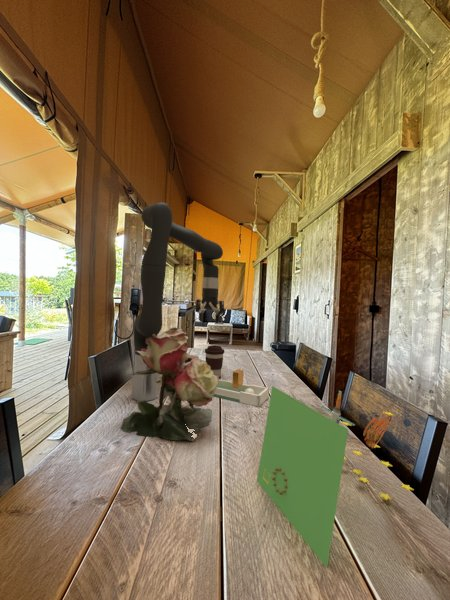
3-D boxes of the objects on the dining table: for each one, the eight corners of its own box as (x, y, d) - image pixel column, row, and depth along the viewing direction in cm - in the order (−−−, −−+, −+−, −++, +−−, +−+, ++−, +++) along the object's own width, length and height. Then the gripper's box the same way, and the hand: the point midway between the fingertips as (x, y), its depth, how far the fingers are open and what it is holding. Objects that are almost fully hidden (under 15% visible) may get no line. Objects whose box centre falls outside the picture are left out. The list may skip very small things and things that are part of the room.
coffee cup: (223, 379, 138) (224, 348, 138) (202, 378, 138) (204, 347, 138) (223, 373, 148) (224, 345, 148) (204, 372, 148) (205, 344, 148)
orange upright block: (237, 395, 113) (237, 373, 113) (231, 394, 114) (232, 372, 114) (243, 391, 118) (244, 370, 118) (237, 390, 119) (238, 369, 119)
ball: (252, 390, 111) (243, 389, 113) (252, 400, 111) (243, 399, 113) (256, 387, 114) (246, 386, 116) (256, 397, 114) (246, 396, 116)
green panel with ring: (425, 542, 53) (443, 415, 54) (324, 569, 43) (348, 414, 44) (337, 473, 73) (351, 381, 74) (254, 481, 63) (272, 375, 64)
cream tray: (259, 406, 106) (259, 396, 106) (204, 394, 117) (204, 384, 117) (268, 397, 116) (268, 388, 116) (217, 386, 127) (217, 377, 127)
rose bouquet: (210, 446, 77) (214, 336, 76) (112, 433, 82) (115, 330, 82) (226, 409, 102) (230, 326, 102) (151, 400, 107) (153, 322, 107)
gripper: (193, 286, 132) (191, 321, 132) (220, 287, 126) (218, 324, 126) (201, 287, 139) (200, 320, 139) (227, 288, 132) (226, 322, 133)
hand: (209, 322), depth 133 cm, fingers open, 8 cm apart
